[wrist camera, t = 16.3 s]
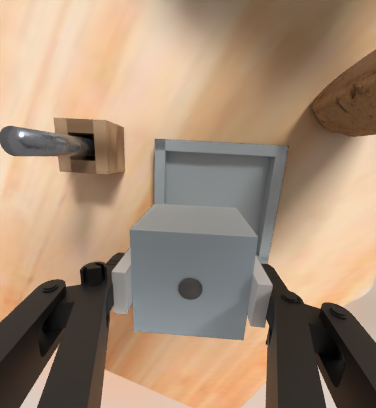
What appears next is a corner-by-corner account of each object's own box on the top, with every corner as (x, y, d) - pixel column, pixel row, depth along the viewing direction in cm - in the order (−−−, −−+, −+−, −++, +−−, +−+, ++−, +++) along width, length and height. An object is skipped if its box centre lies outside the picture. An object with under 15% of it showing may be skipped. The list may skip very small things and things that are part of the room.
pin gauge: (97, 140, 31) (-4, 125, 15) (111, 141, 31) (24, 126, 15) (98, 155, 31) (2, 155, 16) (112, 156, 31) (29, 156, 16)
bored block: (81, 125, 30) (53, 117, 25) (123, 127, 30) (105, 120, 24) (85, 168, 32) (59, 171, 26) (124, 171, 32) (108, 174, 26)
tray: (158, 140, 30) (154, 138, 28) (281, 146, 29) (288, 145, 27) (156, 249, 35) (153, 256, 33) (262, 257, 34) (267, 265, 32)
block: (154, 203, 16) (129, 230, 10) (236, 207, 16) (258, 238, 10) (154, 274, 18) (133, 332, 12) (228, 279, 18) (243, 341, 12)
